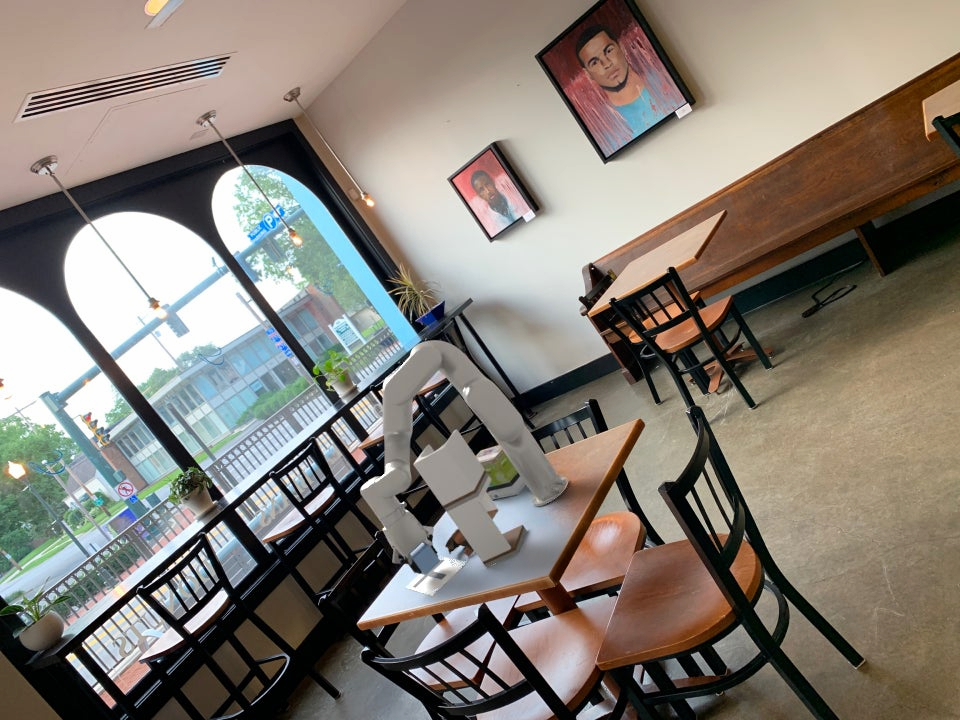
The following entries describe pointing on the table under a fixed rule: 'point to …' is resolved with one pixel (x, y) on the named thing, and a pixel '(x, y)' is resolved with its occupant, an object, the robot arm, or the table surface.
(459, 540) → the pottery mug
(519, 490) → the tea box
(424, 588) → the letter mat
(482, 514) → the notched white pillar
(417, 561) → the slate blue cube
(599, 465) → the table surface
